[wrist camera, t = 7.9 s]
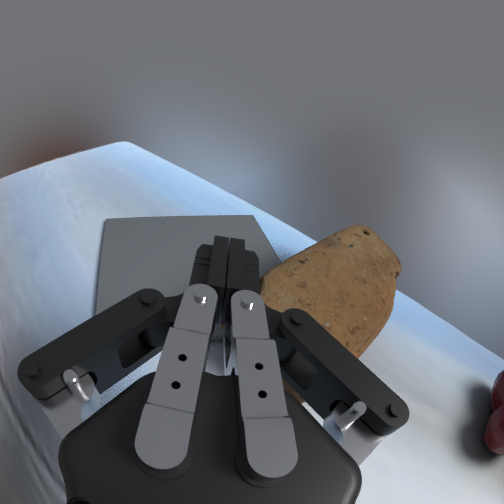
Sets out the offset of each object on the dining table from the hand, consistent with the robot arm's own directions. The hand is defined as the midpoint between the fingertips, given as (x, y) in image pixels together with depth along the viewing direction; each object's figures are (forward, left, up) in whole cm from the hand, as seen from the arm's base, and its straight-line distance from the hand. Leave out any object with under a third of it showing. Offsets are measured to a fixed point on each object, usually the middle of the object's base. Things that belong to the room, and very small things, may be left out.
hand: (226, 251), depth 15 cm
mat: (-15, +2, -14) cm, 21 cm away
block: (0, +4, -10) cm, 11 cm away
